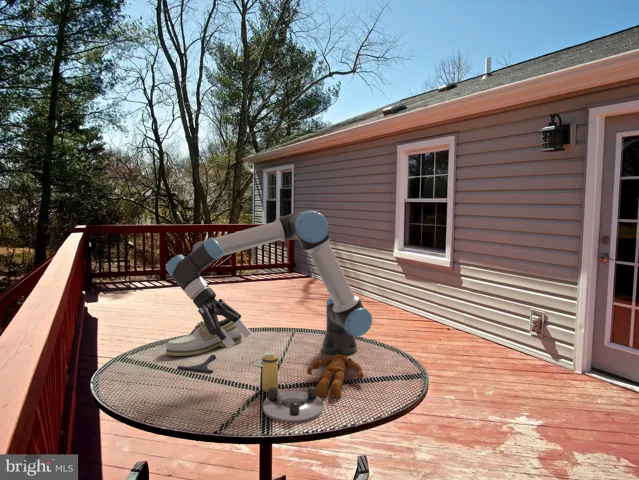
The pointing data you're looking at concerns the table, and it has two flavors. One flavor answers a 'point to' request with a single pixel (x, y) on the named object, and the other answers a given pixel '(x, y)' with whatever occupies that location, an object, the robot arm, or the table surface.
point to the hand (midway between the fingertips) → (240, 340)
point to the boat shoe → (202, 339)
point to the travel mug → (269, 371)
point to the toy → (334, 374)
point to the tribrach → (293, 405)
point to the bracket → (200, 366)
